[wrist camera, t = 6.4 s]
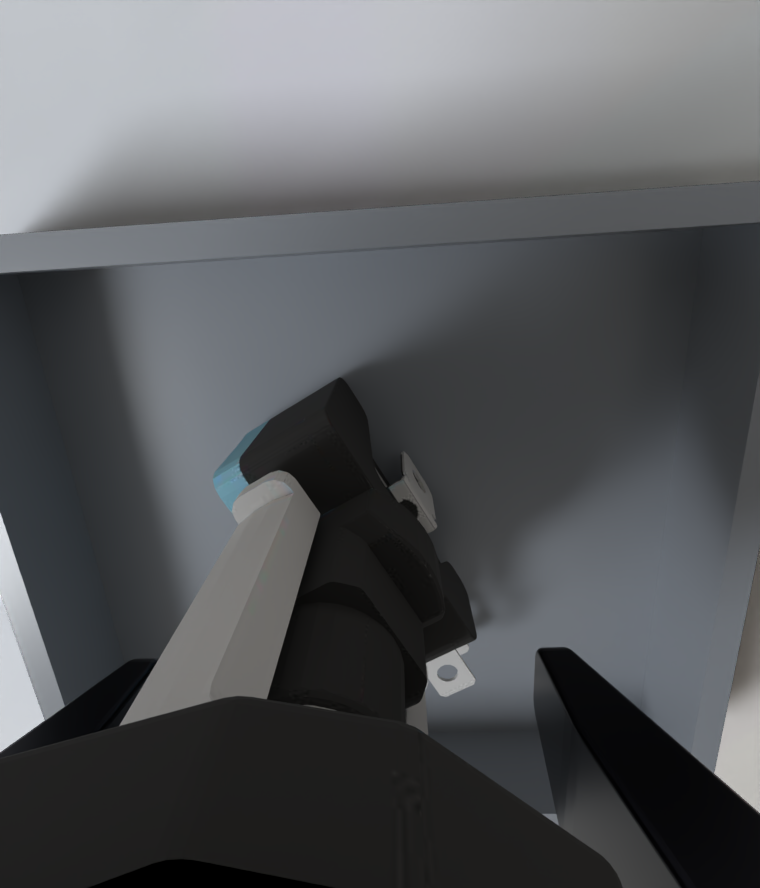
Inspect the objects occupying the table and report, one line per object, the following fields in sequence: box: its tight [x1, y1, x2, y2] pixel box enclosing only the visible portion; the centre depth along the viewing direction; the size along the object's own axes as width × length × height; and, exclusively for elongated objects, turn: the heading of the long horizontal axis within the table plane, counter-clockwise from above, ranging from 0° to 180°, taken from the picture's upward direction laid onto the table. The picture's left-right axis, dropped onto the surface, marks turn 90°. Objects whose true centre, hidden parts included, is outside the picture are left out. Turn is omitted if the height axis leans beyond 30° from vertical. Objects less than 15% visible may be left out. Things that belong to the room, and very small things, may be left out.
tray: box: [0, 181, 760, 825], centre depth 10 cm, size 13×12×2 cm
